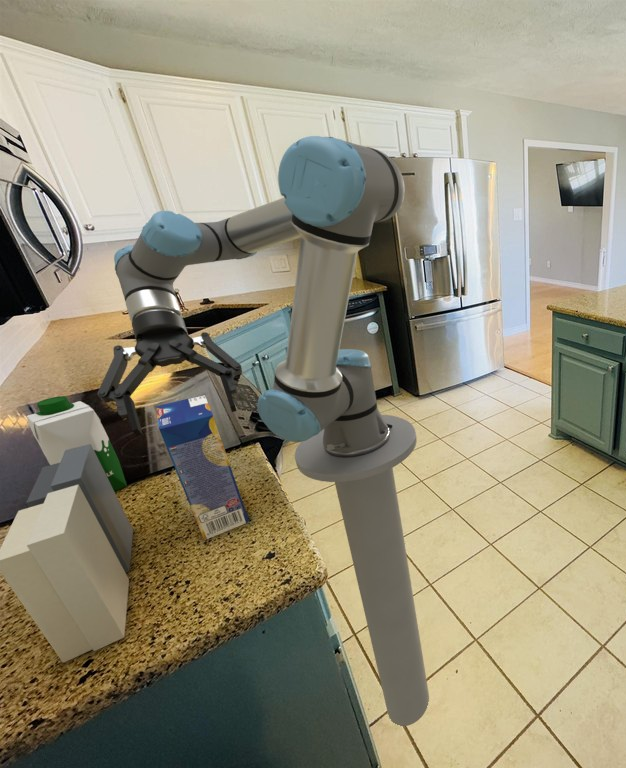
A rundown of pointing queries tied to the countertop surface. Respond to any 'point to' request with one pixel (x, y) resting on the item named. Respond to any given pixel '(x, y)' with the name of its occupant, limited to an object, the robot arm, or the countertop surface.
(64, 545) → the cream books
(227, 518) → the beverage box
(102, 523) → the grey books
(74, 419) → the milk carton
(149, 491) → the countertop surface
